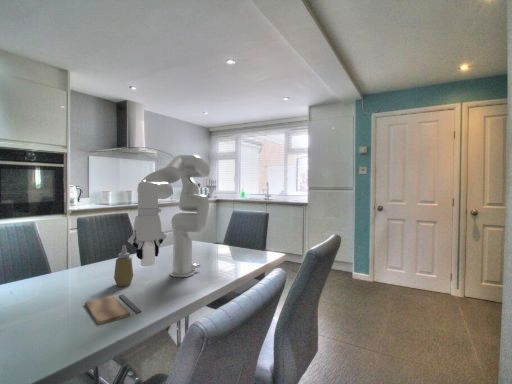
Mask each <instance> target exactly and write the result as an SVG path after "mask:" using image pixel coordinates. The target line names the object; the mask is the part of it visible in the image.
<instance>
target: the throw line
mask: <svg viewBox="0 0 512 384" xmlns="http://www.w3.org/2000/svg"><path fill="white" fill-rule="evenodd" d="M118 296H119V298H120V299H121V300H122V301H123V302H124V303H125V304H126V305H127V306H128V307H129V308H130V309H131V310H132V311H133V312H134V313H135V314H140V313H142V311H141V309H140V308H139V307H138V306H136V305H135V304H134V303H133V302H132V301H131V300H130V299H129V298H128V297H127V296H126V295H125V294H119V295H118Z"/></svg>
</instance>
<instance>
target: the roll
mask: <svg viewBox="0 0 512 384" xmlns="http://www.w3.org/2000/svg"><path fill="white" fill-rule="evenodd" d="M141 249H142V259H140V265H141V266H142V267H151V266H154V265H156V256H155V244H154V242H153V240H152V241H145V242H143V243H142V246H141Z"/></svg>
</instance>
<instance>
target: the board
mask: <svg viewBox="0 0 512 384" xmlns="http://www.w3.org/2000/svg"><path fill="white" fill-rule="evenodd" d="M84 305H85V307H86V308H87V310H88V311H89V313H90V314H91V315H92V317H93V318H94V320H95V323H97V324H98V325H102V324H106V323H109V322H114V321H116V320H120V319H124V318H126V317H130V316H131V312H130V311H129V310H128V309H127V307H125V306H124V305H123V304H122V302H120V300H118V298H117V297H116V296H115V295H109V296H105V297H99V298H97V299H93V300H89V301H88V300H87V301H84Z"/></svg>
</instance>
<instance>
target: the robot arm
mask: <svg viewBox="0 0 512 384" xmlns="http://www.w3.org/2000/svg"><path fill="white" fill-rule="evenodd" d="M210 172H211V167H210V165H209V163H208V162H207V161H206V160H205V159H204V158H202V157H201V156H199V155H198V154H179V155H177V156H176V155H175V157H174V158H173V159H172V160H170V162H169V163H168V164H166V166H165V167H162V168H160V169H157V170H155V171H152V172H151V173H149V174H147V175H146V176H145V177H143V179H141V181H140V182H138V184H137V215H136V216H135V217H134V223H133V231H132V232H133V233H132V235H131V236H130V237H129V238H128V239H127V242H128V243H129V244H131V246H133V247H134V248H135V249H136V250H135V252H136V253H135V254H136V257H137V258H138V259H139V260H141V259H142V249H141V246H142V243H143V242H145V241H153V242H154V244H155V258H156V257H159V253H160V246H161V244H162V243H163V242H164V240H165V239H166V238H167V235H166V234H165V233H164V232H163V231H162V222H161V217H160V215H159V213H161V212H162V209H161V208H159V200H166V199H169V198H170V197H171V196H172V194H173V188H174V187H173V186H172V184H174V183H176V182H178V181H179V180H181V183H182V186H181V187H182V188H181V193H180V198H179V201H178V208H179V210H180V211H182V212H178V213H175V214H174V215H173V216H172V218H171V222H170V223H171V229H172V238H173V239H172V240H173V242H172V243H173V247H172V250H173V251H172V253H173V254H172V257H173V258H172V262H173V263H172V269H171V270H170V272H169V275H170V276H171V277H174V278H186V277H187V278H188V277H191V276H194V275H195V272H196V270H195V269H197V268H198V269H199V268H201V263H193V238H192V236H191V234H190V233H203V231H205V229H206V225H207V221H208V214H209V209H210V200H209V197H208V196H207V195H205V194H198V193H199V185H198V183H197V182H196V181H195V180H194V178H207V177H208V176H209V175H210ZM135 241H136V242H135Z"/></svg>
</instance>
